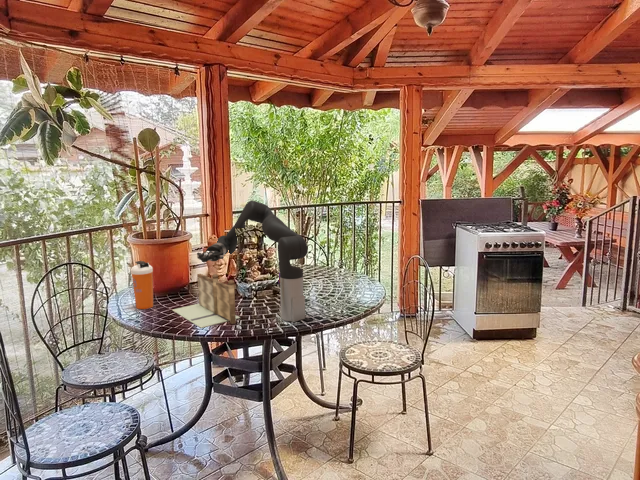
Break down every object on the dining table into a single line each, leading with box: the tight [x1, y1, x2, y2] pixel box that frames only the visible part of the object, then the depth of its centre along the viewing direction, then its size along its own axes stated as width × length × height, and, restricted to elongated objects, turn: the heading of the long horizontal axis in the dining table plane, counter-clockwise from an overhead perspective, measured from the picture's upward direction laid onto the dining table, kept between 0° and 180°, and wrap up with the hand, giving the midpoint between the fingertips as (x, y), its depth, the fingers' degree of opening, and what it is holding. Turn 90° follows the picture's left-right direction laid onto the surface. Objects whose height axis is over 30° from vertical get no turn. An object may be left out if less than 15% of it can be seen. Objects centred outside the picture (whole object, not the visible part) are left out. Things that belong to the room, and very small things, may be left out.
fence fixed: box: [211, 273, 237, 325], centre depth 178 cm, size 16×2×17 cm, turn 40°
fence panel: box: [196, 273, 214, 312], centre depth 190 cm, size 14×1×14 cm, turn 40°
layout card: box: [171, 303, 241, 329], centre depth 186 cm, size 28×17×1 cm, turn 40°
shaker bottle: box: [130, 260, 154, 310], centre depth 194 cm, size 9×9×20 cm
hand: (203, 259), depth 196 cm, fingers closed
